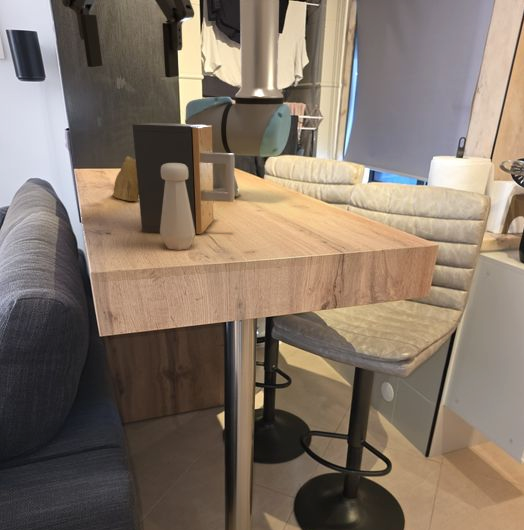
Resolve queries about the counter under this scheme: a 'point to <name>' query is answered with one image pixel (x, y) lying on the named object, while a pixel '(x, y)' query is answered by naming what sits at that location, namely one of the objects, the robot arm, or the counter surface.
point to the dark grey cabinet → (149, 166)
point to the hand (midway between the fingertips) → (132, 71)
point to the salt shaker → (176, 208)
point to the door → (209, 177)
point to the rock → (127, 181)
